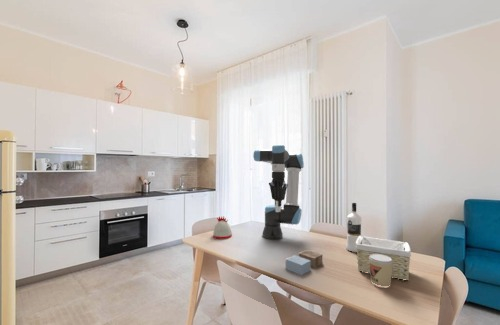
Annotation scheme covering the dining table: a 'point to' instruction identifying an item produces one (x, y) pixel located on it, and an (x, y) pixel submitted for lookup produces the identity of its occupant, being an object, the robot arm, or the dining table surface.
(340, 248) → the dining table surface
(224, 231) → the beanie hat
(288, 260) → the slate block
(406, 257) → the storage basket
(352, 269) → the dining table surface
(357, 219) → the vodka
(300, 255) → the walnut block
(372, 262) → the coffee cup
